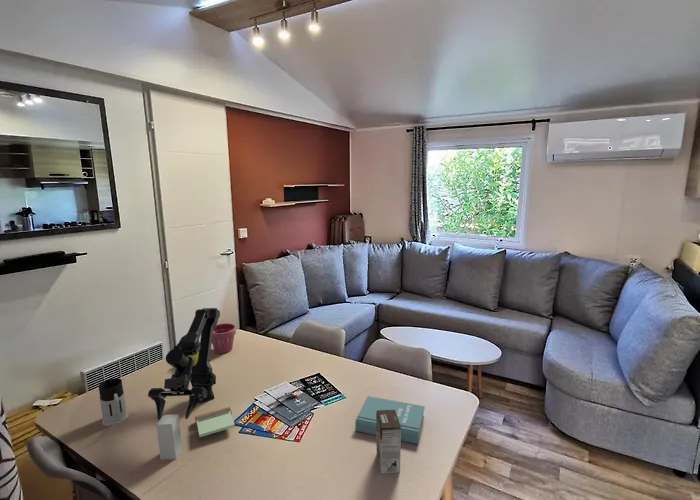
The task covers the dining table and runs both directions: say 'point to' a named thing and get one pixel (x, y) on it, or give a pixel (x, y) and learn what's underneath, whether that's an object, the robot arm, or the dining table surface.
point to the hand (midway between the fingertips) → (172, 419)
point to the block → (169, 437)
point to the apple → (194, 358)
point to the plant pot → (223, 337)
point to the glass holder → (112, 402)
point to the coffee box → (388, 441)
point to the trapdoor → (215, 423)
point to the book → (406, 414)
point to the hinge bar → (211, 414)
